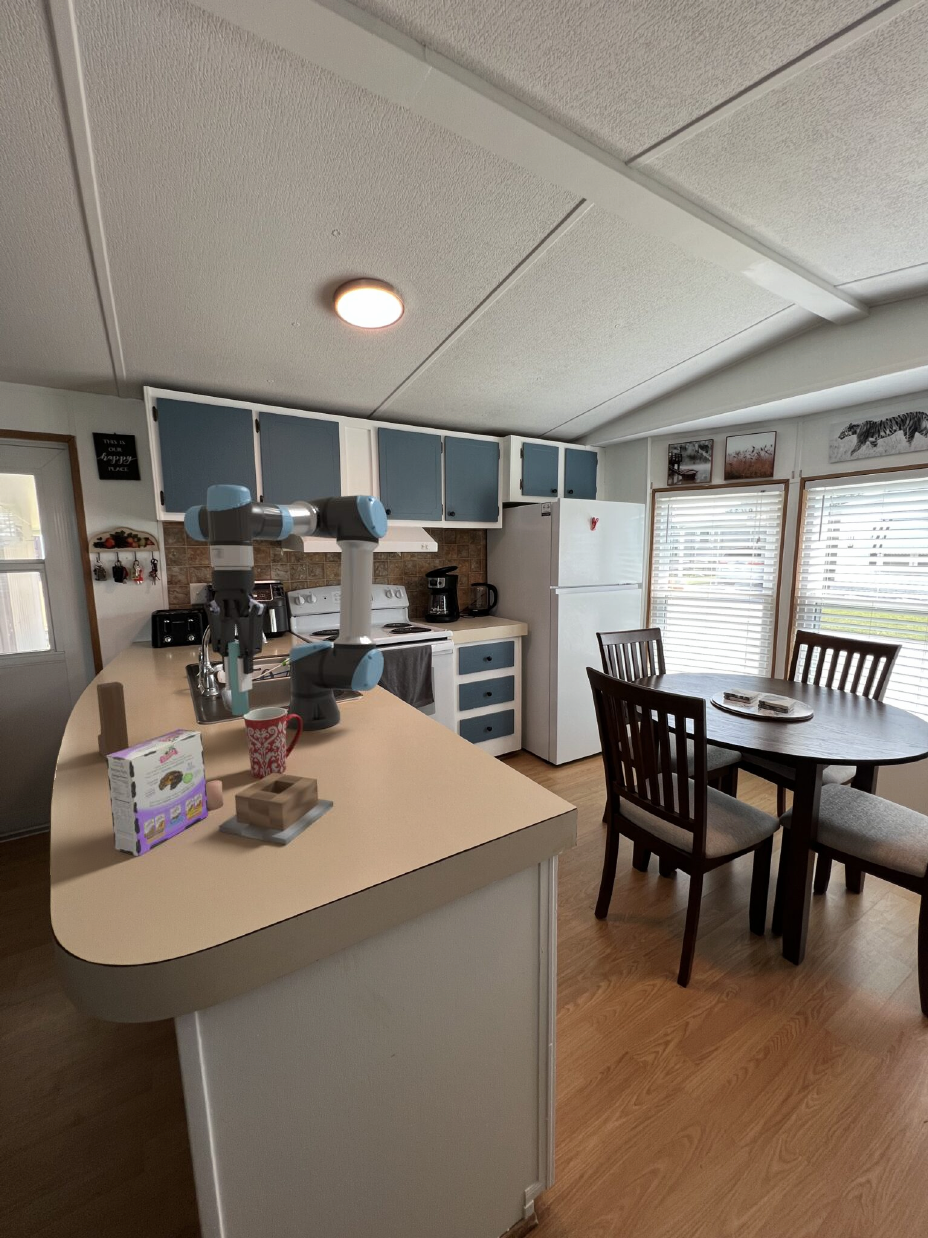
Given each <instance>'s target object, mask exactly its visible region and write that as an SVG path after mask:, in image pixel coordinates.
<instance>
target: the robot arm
mask: <svg viewBox="0 0 928 1238" xmlns="http://www.w3.org/2000/svg"><path fill="white" fill-rule="evenodd" d="M183 522H184V523H183V524H184V529H185V531H186V533H187V534H188V535H189V537H190V538H192V539H194V540H196V541H205V542H209V553H210V554H209V556H210V558H209V559H210V567H212V568H214V569H213V570H211V572H210V578H211V579H210V580H211V587H212V589H213V590H214V591H215V595H214V598H213V600H211V601H209V602H204V604H203V607H204V610H205V613H206V615H207V621H208V629H209V634H210V640H211V648H212V652H213V653H215V654H216V653H217V654H219V655H220V656H221V660H222V662H221V663H222V671H223V673H224V678H225V680H224V681H225V691H231V683H230V667H229V650H228V643H231V642H236V640H235V639H236V634H237V640H238V641H237V642H239V649H240V655H239V656H238V658H237V665H238V683H239V692H243V691H246V690H248V691H249V690H252V689H253V679H252V678H253V676H252V674H253V673H254V668H255V667H254V657H255V656H256V655H259V654H261V653H262V652H263V633H264V615H265V612H266V610H267V604H266V603H260V602H258V601H256V600H255V595H254V594H253V590H254V588H255V587H256V584H255V571H254V570H253V569H252V567H253V568H254V566H255V563H254V562H255V561H254V559H255V558H254V547H253V545H254V544H253V541H255V540H257V541H260V540H263V541H264V540H265V541H267V540H268V541H282V540H284V539H286V538H288V537H289V536H290V535H294V536H297V537H303V538H305V537H312V538H323V539H336V540H335V541H336V542H335V543H336V545H337V546H338V547H339V549H340V550H341V559H340V561H341V563H340V593H339V594H340V595H339V597H340V599H339V600H340V601H339V603H340V604H339V632H338V633H339V635H338V637H336V639H335V640H333V644H332V642H331V641H330V640H328V641H327V640H325V641H316V642H308V643H303V644H299V645H296V646H293V647H292V648H291V649H290V650H289V661H288V664H289V675H290V676H289V678H290V692H291V693H290V694H291V695H290V697H291V698H290V702H289V704H288V705H289V706H288V708H287V714H286V716H288V715H290V714H296V715H298V716H299V717H300V718H301V719H302V731H315V730H321V729H326V728H329V727H333V726H335V725H337V724H338V723H340V721H341V711H340V709H339V706H338V703H337V701H336V698H335V695H334V690H342V691H343V690H345V691H353V692H369V691H371V690H373V689H374V688H375V687H376V686H377V685H378V684H379V681H381V680H380V679H381V677H382V675H383V670H384V659H385V658H384V656H383V653H382V651H380V650H379V649H378V648H377V642H376V641H375V640H374V638H373V637H372V635H371V634H372V607H373V606H372V603H373V602H372V599H373V572H374V571H373V569H374V567H373V566H374V565H373V564H374V563H373V562H374V561H373V560H374V551H375V550H376V549H377V548H378V547H379V543H380V539H382V538H384V537H385V536H386V535H387V531H388V518H387V514H386V509H385V507H384V505H383V504H382V501H380V499H378V498H377V497H376V496H374V495H366V494H365V495H363V494H359V495H358V494H357V495H346V496H345V495H343V496H325V497H319V498H314V499H309V500H297V501H294V502H292V503H291V504H276V503H274V502H272V503H268V502H261V501H257V500H256V501H254V500H252V497H251V492H250V490H249V488H248V487H246V486H243V485H235V484H214V485H211V486H209V487H208V488H207V491H206V504H200V505H195V506H191V507H190V508H188V509H187V510H186V512H185V514H184V517H183ZM287 728H289V729H292V730H295V731H296V730H297V720H296V718H293V719H291V720H290V721H289V723H288V726H287Z"/></svg>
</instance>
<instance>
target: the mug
mask: <svg viewBox="0 0 928 1238" xmlns="http://www.w3.org/2000/svg"><path fill="white" fill-rule="evenodd" d="M287 712H288V709H285V708H282V707H275V706H274V707H271V706H270V707H262V708H258V709H257V708H256V709H253V710H249V713H248V714H245V715H242V718H243V720H244V724H245V732H246V739H247V748H248V755H249V762H250V770H251V775H252V776H253V777H254V778H259V779H263V778H265V777H266V776H268V775H270V774H271V773H280V774H284V772H285V771H286V769H287V759H288V757H289V756H290V754H291V753H292V751H293V750H294V748H295V747H296V745H297V743H298V741H299V740H300V737H301V735H302V732H303V730H302V719H301V718H300V717H299V716H298V715H296V714H290V715H288V716H286V715H287ZM293 718H296V720H297V730H296V729H295V733H294V736H293V738H292V740H291V741H290V743H289V745H288V746H287V728H288V727H287V726H288V723H289V721H290V720H291V719H293Z"/></svg>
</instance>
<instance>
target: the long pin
mask: <svg viewBox="0 0 928 1238" xmlns="http://www.w3.org/2000/svg"><path fill="white" fill-rule="evenodd" d="M227 648H228V650H229V667H230V683H231V690H230V694H231V695H230V696H231V699H230V700H231V712H232V713H231V714H232V716H244V715H245V714H248V713H249V712H250V706H249V705H250V704H249V690H246V691H243V692H239V683H238V665H237V658H238V656H239V655H240V649H239V642H238V641H235V642H231V643H228V647H227Z"/></svg>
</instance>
